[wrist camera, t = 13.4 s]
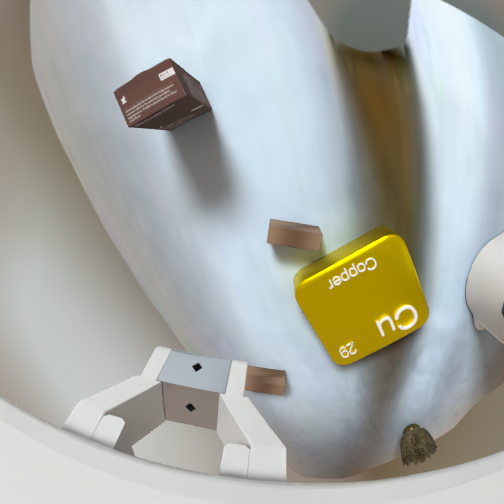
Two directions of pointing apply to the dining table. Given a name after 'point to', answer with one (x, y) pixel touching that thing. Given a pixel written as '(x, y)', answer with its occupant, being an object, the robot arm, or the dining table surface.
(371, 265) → the element tile
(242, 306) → the dining table surface
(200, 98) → the box
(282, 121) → the dining table surface
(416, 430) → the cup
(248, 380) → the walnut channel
